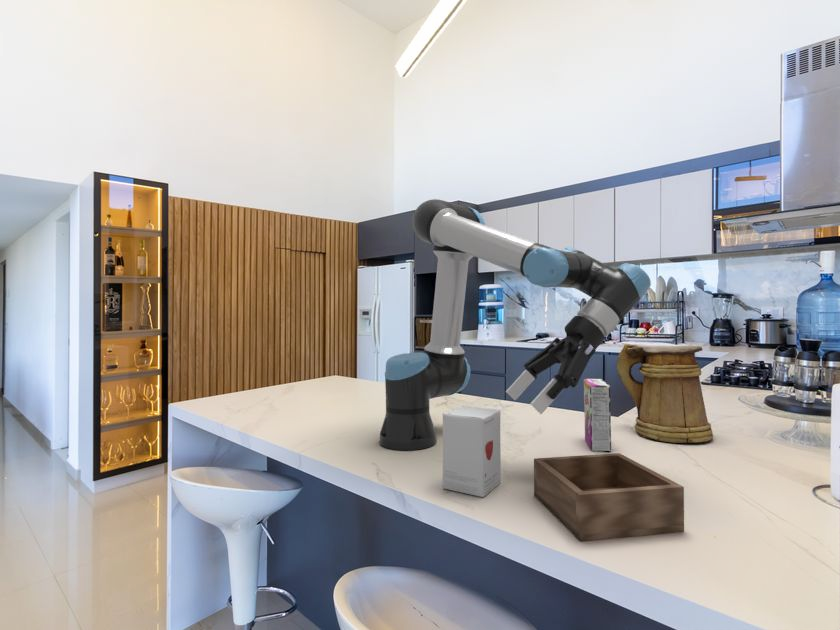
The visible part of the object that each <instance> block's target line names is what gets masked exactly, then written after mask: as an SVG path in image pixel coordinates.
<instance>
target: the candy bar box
mask: <svg viewBox="0 0 840 630" xmlns="http://www.w3.org/2000/svg"><path fill="white" fill-rule="evenodd" d="M583 403H584V404H583V406H584V409H583V410H584V412H583V413H584V439H585V441H586V443H587V445H588V446H589V448H590V451H591V452H595V451H610V452H609V453H611V452H612V424H611V422H612V421H611V416H612V414H611V413H612V412H611V385H610V384H608V383H607V382H606V381H605V380H604V379H602V378H584V379H583Z"/></svg>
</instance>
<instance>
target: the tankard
mask: <svg viewBox="0 0 840 630" xmlns="http://www.w3.org/2000/svg"><path fill="white" fill-rule="evenodd" d="M702 351H703V348H702V346H700V345H679V346H677V345H674V346H642V345H639V344H638V345H637V344H630V343H624V344H623V347H622V349H621V350H620V351H619V354H618V356H617V362H616V369H617V373H618V377H619V379H620V380H621V383H622V385H624V387H625V389H626V390H627V393H628V394H629V395H630V396H631V398H632V400H633V402H634V404H635V407H636V409H637V410H636V411H637V417H636V418H635V422H636V423H635V424H634V429H635V431H636V432H637V434H638V435H639V436H640V437H643V436H644V437H643V438H645V437H646V439H649V438H650V439H649V440H652V439H654V440H653V441H658V442H659V441H660V442H667V443H676V444H678V443H679V444H690V443H691V444H694V443H695V444H696V443H703V442H708V441H711V440H713V439H714V435H713V430H712V425H711V423H709V421H708V416H707V412H706V410H707V409H706V406H705V402H704V397H703V391H702V390H703V389H702V386H701V381H700V376H702V371H701V366H700V363H698V362H697V359H696V354H695V353H699V352H702ZM636 364H637V365H638V364H640V365H641V366H640V367H639V368H638V371H639V374H641V375H642V376H643V380H642V381H639V380H636V379H635V378H634V376H633V375H632V368H633V367H634V365H636Z"/></svg>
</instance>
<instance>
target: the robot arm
mask: <svg viewBox="0 0 840 630" xmlns="http://www.w3.org/2000/svg"><path fill="white" fill-rule="evenodd" d="M483 217H484V216H482V215H481V213H480V212H479V211H478V210H476V209H475V208H472V207H470V206H468V205H466V204H465V205H464V204H460V203H459V204H458V203H454V202H450V201H445V200H442V199H437V198H435V199H434V198H433V199H428V200H426V201H423V202H422V203H421V204H419V205H418V206H417V208H416V209H415V211H414V213H413V215H412V229H413V230H414V233H415V235H416V236H417V237H418V238H419V239H420V240H421V241H422V242H425V243H428V244H431V245H433V254H434V255H435V256H436V257H437V265H436V276H435V277H436V278H435V289H434V298H433V309H432V319H431V329H430V331H431V332H430V341H429V342H428V344H426V345H425V346H424V348H423V352H409V353H406V352H404V353H401V354H400V353H399V354H396V355H393V356H391V357H389V358H388V359H387V360H386V362H385V372H384V378H385V379H384V380H385V383H384V384H385V386H384V387H385V416H384V419H383V423H382V426H381V430H380V433H379V445H380V446H381V447H384V448H386V449H390V450H396V451H415V450H416V451H417V450H423V449H427V448H430V447H433V446H435V445H436V444H437V432H436V428H435V426H434V423H433V420H432V416H431V413H430V399H435V398H440V397H447V396H452V395H455V394H457V393H460V392H461V391H463V390H464V389H465V388H466V386H467V385H468V383H469V381H470V378H471V367H470V366H471V365H470V364H469V362H468V359H467V358H466V356H465V350H464V348H463V346H461V337H462V330H463V329H462V328H463V318H464V311H465V309H464V308H465V307H464V306H465V299H466V298H465V297H466V292H467V291H466V289H467V280H468V269H469V262H470V260H471V259H472V258H474V257H475V258H478V259H481V260H482V261H485V262H488V263H490V264H492V265H494V266H497V267H500V268H502V269H505V270H508V271H510V272H513V273H514V274H517V275H520V276H522V277H523V278H526V279H527V281H529V282H530V284H533V285H535V286H539V287H542V288H567V289H576V290H578V291H580V292H581V293H583V294H584V295H587V296H588V297H590V298H589V299H588V301H587V302H586V303H585V304H584V305H583V306H582V307H581V308H580V309H579V310H578V311H577V313H576V315H574V316H573V317H572V318H571V320H570V321H569V322H568V323H567V324H566V325H565V326H564V332H565V334H566V335H565V337H564V338H563V339H560V338H559V337H555V338H554V339H553V341H551V342H550V343H549V344H548V345H547V346H545V347H544V348H543V349H542V350H540V351H539V352H537V354H535V355H534V356H533V357H531V358H530V359H529V360H528V361H527V362H525V363H524V364H523V367H524V370H523V372H522V373H521V374H520V375H519V376H518V377H517V378H516V379H515V381H514V382H513V383H512V384H511V385H510V386H509V387H508V388H507V390H505V393H506V394H508V395H509V396H510V398H512V399H513V401H516V400H518V398H519V397H520V396H521V395H522V394H523V393H524V392H525V391H526V389H527V388H528V387H529V386H530V385H531V384H532V383H533V382H534V380H537V378H538V376H537V375H539V374H541V373H542V372H544V371H545V370H547V369H549V368H550V367H552V366H554V365H556V364H560V366H559V370H558V372H557V374H555V375H553V377H554V378H551V380H550V381H549V382H548V383H547V384H546V386H545V387H544V388H543V389H542V390H541V391H540V392H539V393H538V395H537V396H536V397H535V398H534V399H532V401H531V402H530V403H529V404H530V405H531V407H533V408H534V410H535V411H536V412H538V413H539V415H542V414H543V413H544V412H545V411H546V410H547V409H548V408H549V407H550V406H551V404H552V403H553V402H554V401H555V400H556V399H557V397H558V396H559V395H561V393H562V392H563V391H564V390H565V389H568V388H569V387H570V388H573V389H574V388H575V387H576V386H577V385H578V384H579V381H580V379H581V378H582V375H583V374H584V371H585V370H586V367H587V365H588V363H589V362H590V360H591V358H592V356H594V354H595V353H596V350H597V348H599V346H601V344H602V343H603V342H604V340H605V338H606V337H608V336H609V335H610V333H613V332H614V331H615V328H617V325H618V324H620V323H621V321H622V320H623V319H624V318H625V317H626V316H627V315H628V314H629V313H630V312H631V311H632V309H633V308H634V307H635V306H636V305H637V304H638V303H640V301H641V299H642V298H643V297H644V295H645V294H646V292H648V290H649V289H650V287H651V286H652V285H651V284H652V283H651V278H650V276H649V275H648V273H647V272H646V271H645V270H644V269H643V268H642V267H640V266H638V265H637V264H633V263H629V262H625V263H622V264H621V265H620V266H617V268H614V267H612V266H609V265H607V264H604V263H603V262H601V261H599V260H598V259H596V258H594V257H591V256H590V255H588V254H586V253H585V252H583V251H582V250H578V249H575V248H573V247H570V246H569V247H565V248H564V249H561V250H559V249H556V248H553V247H551V246H547V245H544V244H541V243H538V242H536V241H532V240H530V239H527V238H524V237H521V236H518V235H515V234H512V233H509V232H507V231H504V230H500V229H499V228H498V229H497V228H495V227H492V226H489V225H486V222H485V219H484V218H483Z"/></svg>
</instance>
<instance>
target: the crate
mask: <svg viewBox="0 0 840 630" xmlns="http://www.w3.org/2000/svg"><path fill="white" fill-rule="evenodd" d="M533 490H534V491H533V497H534V498H536V499H537V500H538V502H540V503H541V504H542V505H543V506H544V507H545V508H546V509H547V510H548V511H549V512H550V513H551V514H552V515H553V516H554V517H555V518H556V519H557V520H558V521H559V522H560V523H561V524H562V525H563V526H564V527H565V528H566V529H567V530H568V531H569V532H570V533H571V534H573V536H574V537H576V539H577V540H578V542H587V541H597V540H606V539H607V540H608V539H618V538H628V537H639V536H650V535H660V534H661V535H662V534H670V533H682V532H685V486H683V485H681V484H679V483H677V482H676V481H674V480H671V478H668V477H666V476H664V475H662V474H660V473H658V472H657V471H654V470H653V469H650V468H648V467H647V466H646V465H645V466H644V465H643V464H641V463H640V462H637V461H635V460H633V459H631V458H629V457H628V456H626V455H624V454H622V453H619V452H615V453H602V454H601V453H600V454H583V455H570V456H569V455H568V456H567V455H566V456H553V457H539V458H537V457H536V458H533Z"/></svg>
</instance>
